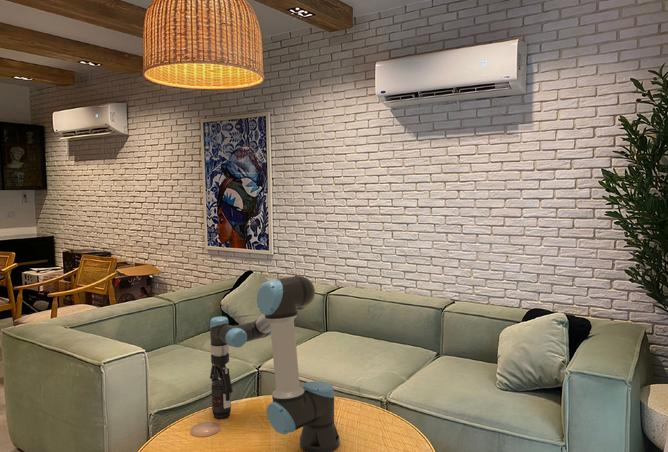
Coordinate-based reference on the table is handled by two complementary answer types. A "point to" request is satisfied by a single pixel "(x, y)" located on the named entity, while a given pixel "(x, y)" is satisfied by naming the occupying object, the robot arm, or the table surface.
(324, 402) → the robot arm
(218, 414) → the camera lens
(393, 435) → the table surface
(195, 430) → the plate
